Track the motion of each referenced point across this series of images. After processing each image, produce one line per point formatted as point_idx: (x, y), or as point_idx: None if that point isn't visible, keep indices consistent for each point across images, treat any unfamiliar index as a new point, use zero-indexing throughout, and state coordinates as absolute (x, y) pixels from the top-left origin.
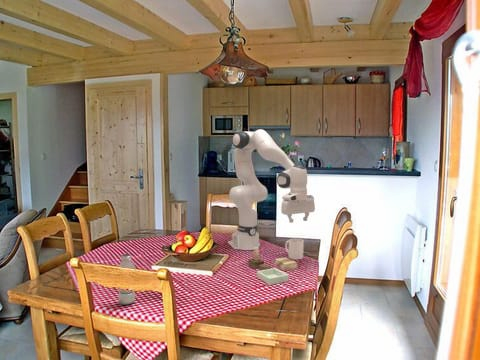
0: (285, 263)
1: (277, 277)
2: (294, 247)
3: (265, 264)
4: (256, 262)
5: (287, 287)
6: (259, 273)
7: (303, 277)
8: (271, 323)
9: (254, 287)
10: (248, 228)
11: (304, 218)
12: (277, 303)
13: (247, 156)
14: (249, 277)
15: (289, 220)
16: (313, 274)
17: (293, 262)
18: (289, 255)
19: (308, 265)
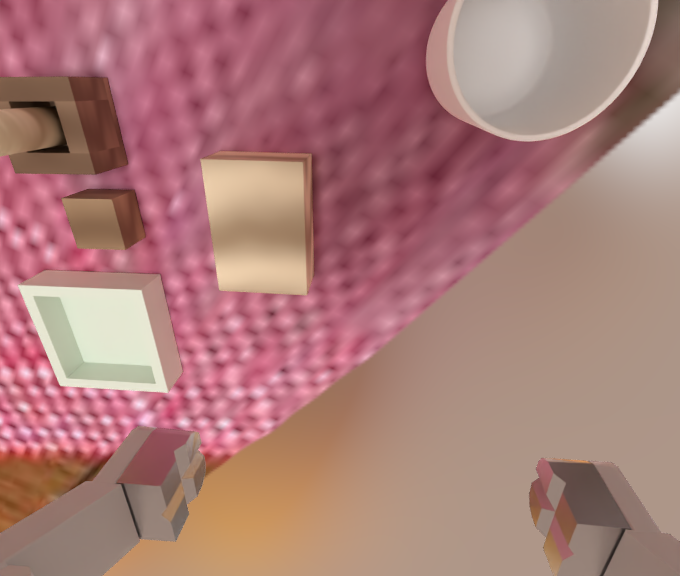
0: (226, 274)
1: (105, 387)
2: (450, 103)
3: (103, 207)
4: (33, 173)
5: (150, 411)
6: (30, 308)
7: (276, 370)
8: None
9: (12, 354)
10: None
11: (557, 536)
12: (66, 474)
13: None
14: (8, 251)
15: (118, 460)
16: (349, 366)
17: (288, 282)
18: (427, 44)
19: (432, 254)
